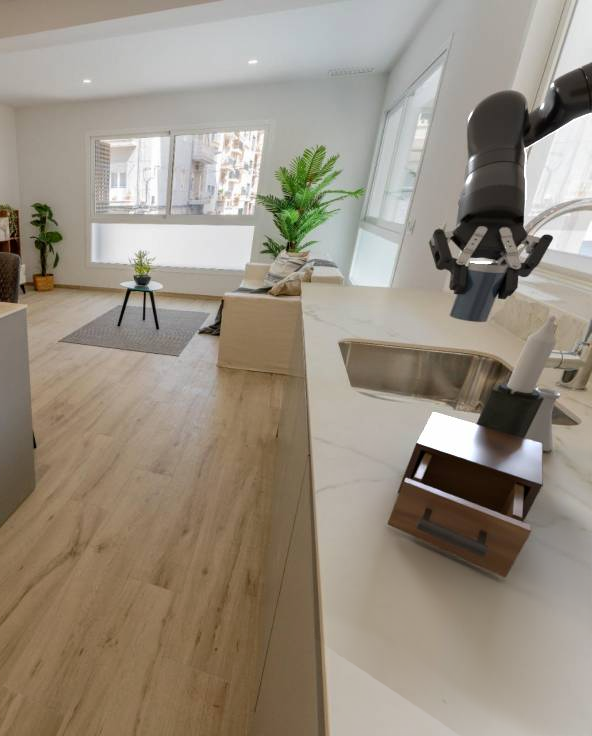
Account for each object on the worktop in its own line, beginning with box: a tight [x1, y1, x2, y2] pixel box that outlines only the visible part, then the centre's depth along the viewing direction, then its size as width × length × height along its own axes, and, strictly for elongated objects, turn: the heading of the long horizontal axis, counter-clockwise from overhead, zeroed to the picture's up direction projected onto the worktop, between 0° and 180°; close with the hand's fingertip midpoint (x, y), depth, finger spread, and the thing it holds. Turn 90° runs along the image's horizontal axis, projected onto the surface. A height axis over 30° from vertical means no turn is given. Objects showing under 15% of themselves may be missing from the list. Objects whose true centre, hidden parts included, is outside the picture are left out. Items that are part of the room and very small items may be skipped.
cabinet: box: [397, 411, 544, 522], centre depth 61 cm, size 14×13×9 cm
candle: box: [476, 315, 557, 438], centre depth 66 cm, size 5×5×25 cm
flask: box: [525, 387, 562, 452], centre depth 75 cm, size 7×7×10 cm
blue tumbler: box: [449, 260, 508, 323], centre depth 62 cm, size 4×4×8 cm
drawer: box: [387, 452, 532, 579], centre depth 53 cm, size 17×11×7 cm
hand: (481, 293), depth 60 cm, fingers closed on blue tumbler, 4 cm apart
